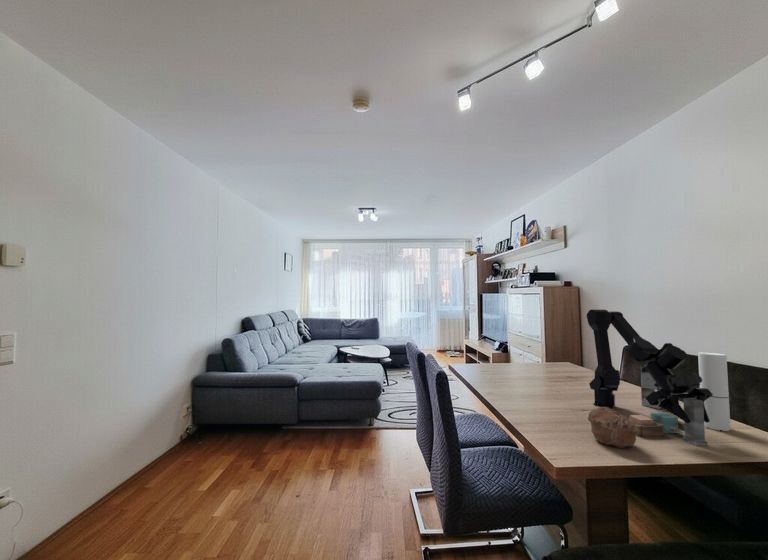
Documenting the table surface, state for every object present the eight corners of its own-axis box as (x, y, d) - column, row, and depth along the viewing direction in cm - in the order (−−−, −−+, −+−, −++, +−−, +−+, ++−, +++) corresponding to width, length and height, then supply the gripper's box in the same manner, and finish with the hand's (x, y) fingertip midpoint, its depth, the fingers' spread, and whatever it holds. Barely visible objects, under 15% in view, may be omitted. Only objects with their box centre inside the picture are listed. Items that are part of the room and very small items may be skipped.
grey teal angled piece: (651, 427, 116) (649, 389, 116) (664, 427, 116) (662, 388, 117) (694, 445, 101) (692, 401, 102) (709, 445, 102) (707, 401, 103)
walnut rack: (619, 427, 115) (619, 418, 116) (668, 425, 118) (667, 416, 118) (638, 436, 108) (638, 427, 108) (690, 434, 110) (690, 425, 110)
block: (629, 428, 115) (629, 415, 115) (642, 428, 115) (641, 415, 115) (641, 434, 110) (640, 420, 110) (653, 433, 111) (653, 419, 111)
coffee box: (659, 409, 135) (658, 368, 136) (641, 405, 140) (639, 366, 141) (668, 405, 140) (667, 366, 141) (650, 401, 145) (649, 364, 146)
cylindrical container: (722, 425, 118) (718, 353, 120) (735, 432, 112) (731, 355, 114) (697, 422, 121) (693, 351, 123) (708, 429, 114) (704, 354, 116)
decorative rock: (581, 434, 109) (580, 403, 110) (614, 433, 110) (613, 402, 111) (611, 453, 96) (610, 417, 97) (648, 452, 97) (647, 416, 98)
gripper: (653, 363, 108) (689, 410, 96) (705, 362, 110) (746, 408, 98) (633, 382, 115) (664, 428, 104) (682, 381, 117) (718, 425, 106)
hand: (698, 422), depth 103 cm, fingers open, 6 cm apart
